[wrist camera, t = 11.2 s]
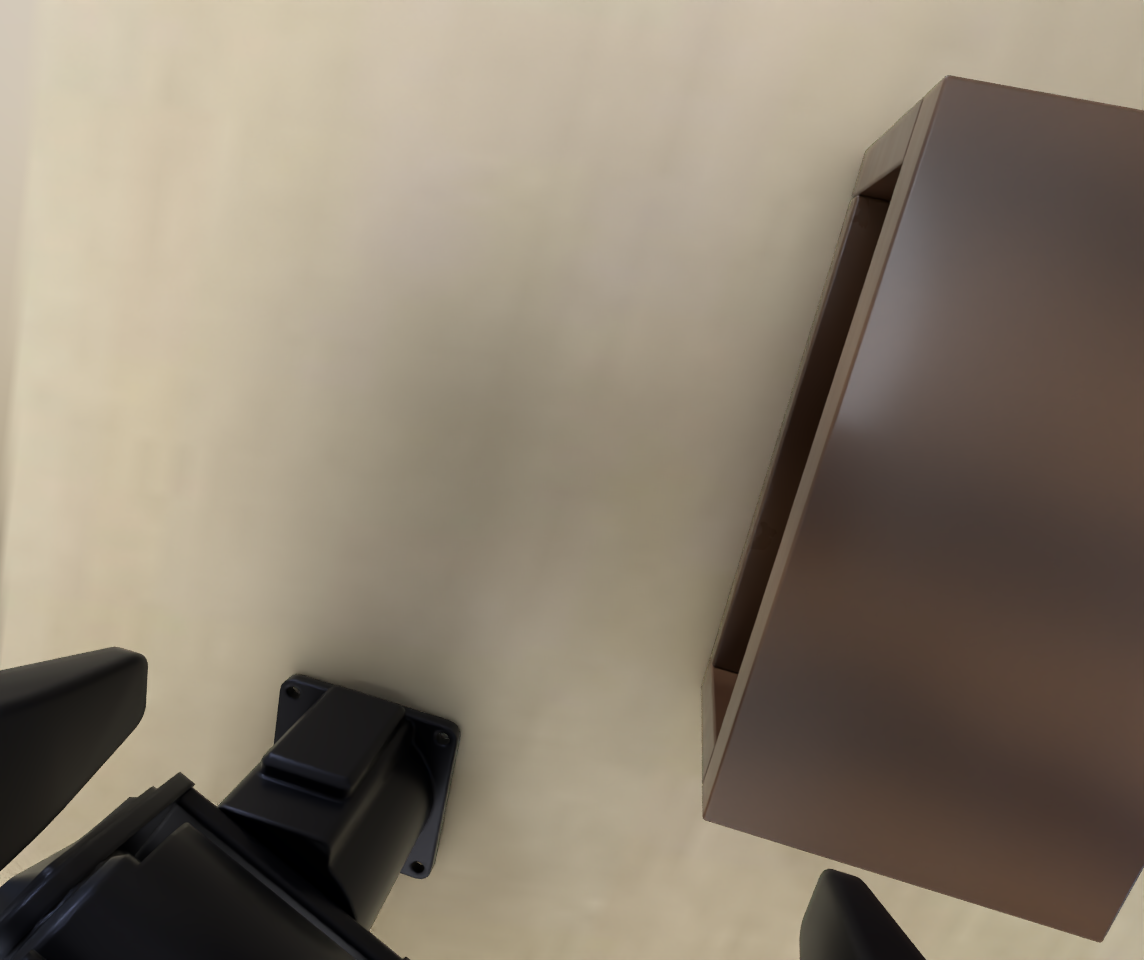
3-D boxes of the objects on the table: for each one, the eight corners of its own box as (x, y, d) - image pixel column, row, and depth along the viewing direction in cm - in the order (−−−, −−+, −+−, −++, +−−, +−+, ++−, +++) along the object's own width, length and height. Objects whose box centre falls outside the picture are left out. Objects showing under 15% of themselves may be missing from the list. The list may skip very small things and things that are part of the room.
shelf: (992, 771, 21) (1102, 944, 15) (700, 687, 22) (701, 820, 16) (1242, 222, 17) (1527, 178, 11) (865, 148, 18) (945, 72, 12)
